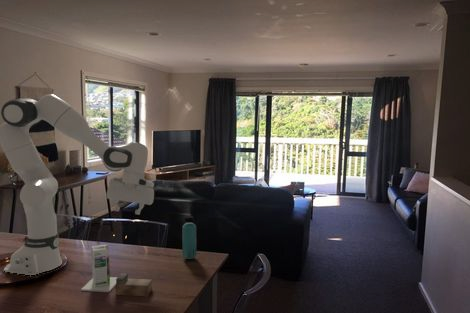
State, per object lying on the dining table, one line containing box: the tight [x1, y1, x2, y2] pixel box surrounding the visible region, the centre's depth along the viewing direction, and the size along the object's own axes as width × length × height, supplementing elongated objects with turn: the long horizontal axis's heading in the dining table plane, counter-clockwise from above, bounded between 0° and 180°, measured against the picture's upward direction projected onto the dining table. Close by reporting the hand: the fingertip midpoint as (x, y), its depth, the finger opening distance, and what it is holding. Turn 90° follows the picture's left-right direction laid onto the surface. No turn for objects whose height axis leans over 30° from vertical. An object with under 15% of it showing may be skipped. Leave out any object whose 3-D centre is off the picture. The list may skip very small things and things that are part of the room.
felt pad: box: [80, 276, 118, 293], centre depth 142 cm, size 11×11×1 cm
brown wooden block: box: [115, 272, 153, 297], centre depth 136 cm, size 12×5×6 cm, turn 85°
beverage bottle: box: [181, 215, 198, 260], centre depth 166 cm, size 6×7×20 cm
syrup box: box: [91, 243, 111, 287], centre depth 141 cm, size 6×6×14 cm
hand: (126, 212), depth 154 cm, fingers open, 8 cm apart
